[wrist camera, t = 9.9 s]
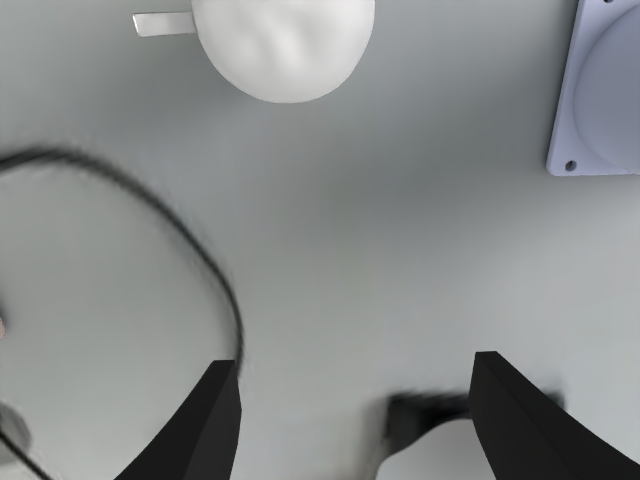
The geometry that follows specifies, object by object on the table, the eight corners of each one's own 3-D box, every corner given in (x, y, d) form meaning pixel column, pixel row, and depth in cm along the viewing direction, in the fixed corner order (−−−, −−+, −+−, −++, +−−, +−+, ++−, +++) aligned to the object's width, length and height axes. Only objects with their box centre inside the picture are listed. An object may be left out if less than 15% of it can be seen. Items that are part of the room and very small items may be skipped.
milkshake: (209, -35, 17) (96, -109, 8) (343, -55, 17) (380, -152, 8) (233, 85, 19) (163, 132, 10) (354, 69, 19) (392, 102, 10)
